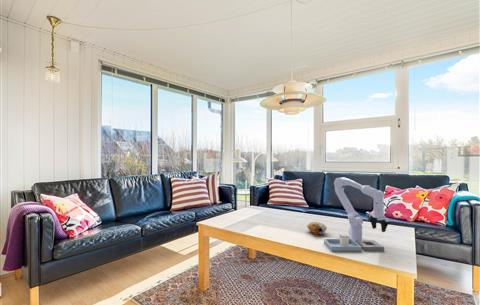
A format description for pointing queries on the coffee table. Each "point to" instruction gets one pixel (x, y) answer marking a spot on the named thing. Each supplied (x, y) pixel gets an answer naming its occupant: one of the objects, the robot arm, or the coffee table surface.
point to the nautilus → (317, 228)
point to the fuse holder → (370, 245)
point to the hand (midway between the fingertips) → (378, 230)
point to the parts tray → (335, 246)
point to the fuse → (344, 240)
